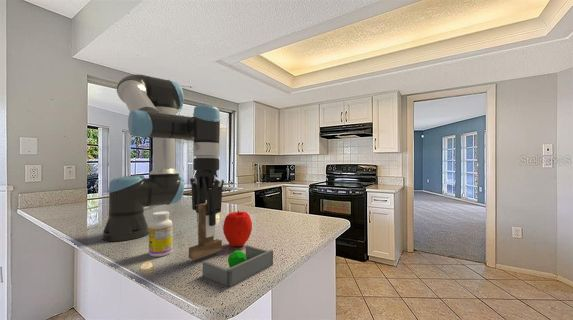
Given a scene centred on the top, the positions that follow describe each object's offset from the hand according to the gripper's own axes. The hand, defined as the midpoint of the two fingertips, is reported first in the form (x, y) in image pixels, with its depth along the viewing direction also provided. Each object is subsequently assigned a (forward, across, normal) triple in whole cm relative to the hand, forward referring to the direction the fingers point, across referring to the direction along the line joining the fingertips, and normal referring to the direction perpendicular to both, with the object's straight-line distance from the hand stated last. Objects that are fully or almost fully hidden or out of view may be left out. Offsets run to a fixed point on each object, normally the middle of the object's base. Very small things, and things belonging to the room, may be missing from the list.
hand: (206, 235), depth 76 cm
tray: (+7, +14, 0) cm, 16 cm away
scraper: (+6, 0, 0) cm, 6 cm away
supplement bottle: (+7, -14, -6) cm, 17 cm away
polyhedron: (+7, +14, 0) cm, 15 cm away
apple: (+7, 0, +13) cm, 15 cm away
